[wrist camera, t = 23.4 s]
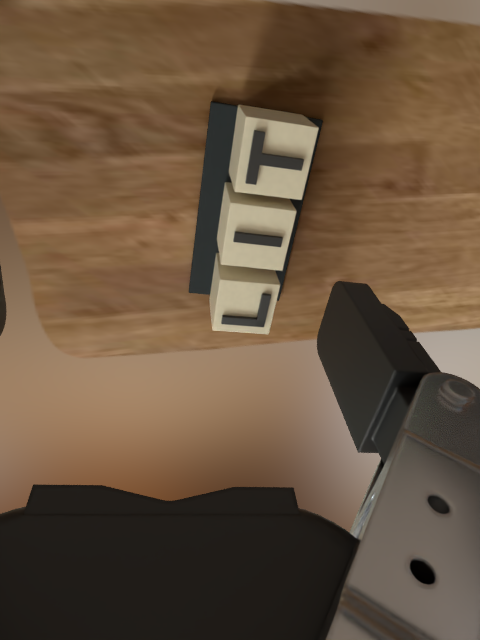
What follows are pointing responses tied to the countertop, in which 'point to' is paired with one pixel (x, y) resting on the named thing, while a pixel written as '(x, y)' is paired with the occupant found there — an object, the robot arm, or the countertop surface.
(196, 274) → the word mat
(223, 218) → the tile
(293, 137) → the tile
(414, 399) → the robot arm
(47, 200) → the countertop surface
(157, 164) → the countertop surface
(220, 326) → the tile
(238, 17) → the countertop surface
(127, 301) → the countertop surface
